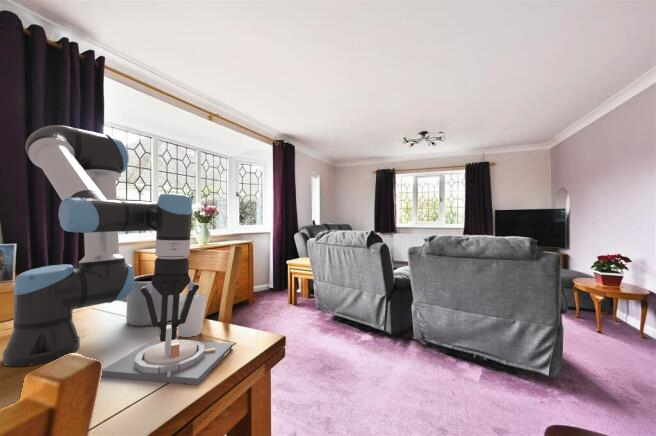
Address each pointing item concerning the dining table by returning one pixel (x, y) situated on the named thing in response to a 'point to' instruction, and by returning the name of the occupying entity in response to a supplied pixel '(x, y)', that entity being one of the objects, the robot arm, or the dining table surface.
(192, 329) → the cup
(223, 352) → the panel
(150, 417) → the dining table surface
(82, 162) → the robot arm
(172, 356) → the dial
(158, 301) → the planter
